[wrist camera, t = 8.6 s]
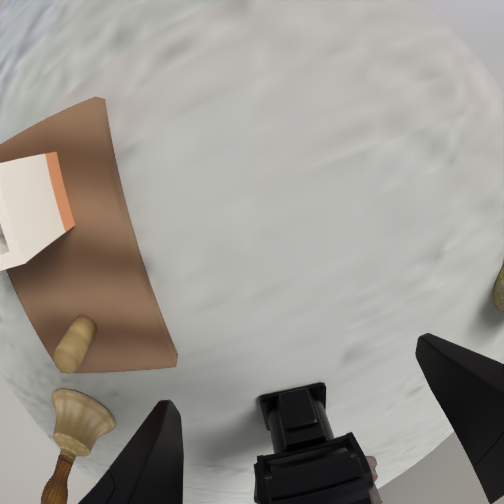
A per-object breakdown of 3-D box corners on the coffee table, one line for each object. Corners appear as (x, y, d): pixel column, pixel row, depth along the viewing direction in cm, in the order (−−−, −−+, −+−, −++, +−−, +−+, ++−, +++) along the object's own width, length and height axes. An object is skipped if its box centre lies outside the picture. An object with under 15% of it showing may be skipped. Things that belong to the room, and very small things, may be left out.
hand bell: (63, 420, 26) (33, 518, 11) (43, 380, 23) (-5, 493, 8) (120, 436, 27) (102, 545, 12) (108, 398, 24) (76, 531, 10)
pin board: (177, 354, 22) (169, 415, 16) (66, 362, 22) (43, 410, 16) (104, 99, 15) (53, 86, 9) (-13, 158, 14) (-67, 173, 8)
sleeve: (75, 225, 16) (24, 263, 10) (25, 241, 16) (-24, 278, 10) (56, 151, 14) (-4, 164, 8) (7, 176, 14) (-50, 196, 8)
